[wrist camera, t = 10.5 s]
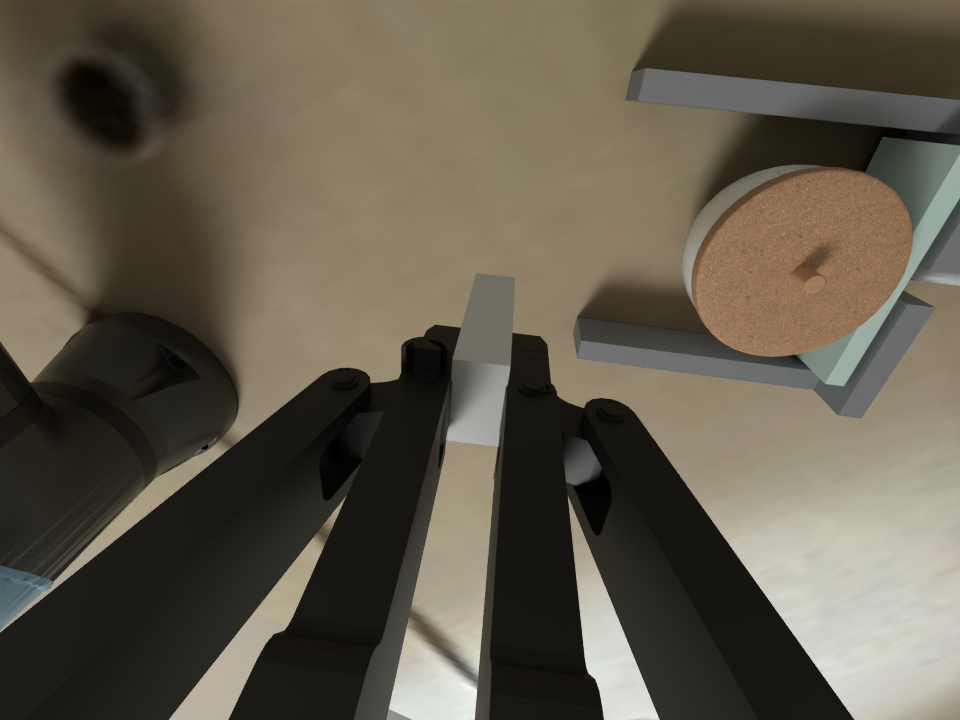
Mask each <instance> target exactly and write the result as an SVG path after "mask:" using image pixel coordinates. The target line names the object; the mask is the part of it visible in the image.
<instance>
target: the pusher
mask: <svg viewBox="0 0 960 720" xmlns="http://www.w3.org/2000/svg"><path fill="white" fill-rule="evenodd" d="M865 173H867V174H869V175H872V176H874V177H876V178H879V179H881V180H882V181H883V182H885V183H886V184H888V185H889V186H891V187H892V188H893V189H894V190H895V191H896V193H897V194H898V195H899V196H900V197H901V198H902V200H903V202H904V204H905V205H906V207H907V209H908V211H909V215H910V219H911V223H912V232H913V243H912V248H911V255H910V258H909V261H908V265H907V268H906V271H905V273H904V275H903V277H902V278H901V280H900V282H899V284H898V286H897V287H896V289H895V290H894V292H893V293H892V295H891V296H890V298H889V299H888V300H887V301H886V302H885V304H884V305H883V306H882V307H881V308H880V309H879V310H878V311H877V312H876V313H875V314H874V315H873V316H872V317H871V318H869V319H868V320H867V321H866V322H865V323H864V324H863V325H861V326H860V327H858V328H857V329H855V330H854V331H852V332H851V333H849V334H848V335H846V336H844V337H842V338H840V339H839V340H837V341H835V342H833V343H830V344H828V345H826V346H823V347H821V348H818V349H815V350H811V351H808V352H805V353H800V354H795V355H796V356H797V357H798V358H799V359H800V360H801V361H802V362H804V363H805V364H806V365H807V366H808V367H809V368H810V369H811V370H812V371H813V372H814V373H815V374H816V375H817V376H818V377H819V378H820V379H821V380H822V381H823V382H824V383H825V384H830V385H838V386H844V385H845V384H846V382H847V381H848V379H849V377H850V376H851V374H852V372H853V371H854V369H855V368H856V366H857V364H858V363H859V361H860V359H861V358H862V356H863V355H864V353H865V351H866V350H867V348H868V346H869V345H870V343H871V342H872V340H873V338H874V337H875V335H876V333H877V332H878V330H879V329H880V327H881V325H882V324H883V322H884V320H885V319H886V317H887V316H888V314H889V312H890V311H891V309H892V307H893V306H894V304H895V303H896V301H897V299H898V298H899V296H900V294H901V293H902V291H903V290H904V288H905V286H906V285H907V283H908V281H909V280H917V281H925V282H933V283H941V284H950V285H958V286H960V272H959V273H958V274H953V273H944V272H936V271H929V270H927V269H924V268H922V267H920V266H918V265H919V264H920V262H921V260H922V259H923V257H924V255H925V254H926V252H927V251H928V249H929V247H930V246H931V244H932V242H933V241H934V239H935V238H936V236H937V234H938V233H939V231H940V229H941V228H942V226H943V225H944V223H945V221H946V220H947V218H948V216H949V215H950V213H951V212H952V210H953V208H954V207H955V205H956V203H957V202H958V200H959V199H960V146H959V145H950V144H941V143H932V142H924V141H915V140H906V139H897V138H888V137H882V139H881V141H880V143H879V145H878V147H877V149H876V151H875V153H874V155H873V157H872V159H871V161H870V163H869V165H868V167H867V169H866V171H865Z"/></svg>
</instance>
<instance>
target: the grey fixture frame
mask: <svg viewBox="0 0 960 720" xmlns="http://www.w3.org/2000/svg"><path fill="white" fill-rule="evenodd" d="M626 100H629V101H638V102H648V103H657V104H666V105H676V106H685V107H695V108H704V109H714V110H723V111H733V112H742V113H752V114H761V115H771V116H780V117H790V118H799V119H809V120H818V121H828V122H837V123H847V124H856V125H866V126H875V127H885V128H894V129H903V130H907V131H906V133H905V135H904V137H903V139H906V140H915V141H924V142H932V143H941V144H950V145H959V146H960V100H954V99H944V98H934V97H924V96H915V95H905V94H895V93H885V92H875V91H866V90H856V89H846V88H836V87H826V86H817V85H807V84H797V83H787V82H777V81H768V80H758V79H748V78H738V77H728V76H719V75H709V74H699V73H689V72H679V71H670V70H660V69H650V68H644V69H640V70H637V71H633V72H632V73H631V78H630V82H629V87H628V91H627V96H626ZM918 266H920V267H922V268H924V269H927V270H929V271H936V272H944V273H953V274H958V273H959V272H960V199H959V200H958V202H957V203H956V205H955V207H954V208H953V210H952V212H951V213H950V215H949V216H948V218H947V220H946V221H945V223H944V225H943V226H942V228H941V229H940V231H939V233H938V234H937V236H936V238H935V239H934V241H933V242H932V244H931V246H930V247H929V249H928V251H927V252H926V254H925V255H924V257H923V259H922V260H921V262H920V264H919V265H918ZM934 309H935V307H933V306H931V305H929V304H928V303H926V302H924V301H922V300H920V299H918V298H916V297H914V296H912V295H910V294H909V293H907V292H905V291H902V293H901V294H900V296H899V298H898V299H897V301H896V303H895V304H894V306H893V307H892V309H891V311H890V312H889V314H888V316H887V317H886V319H885V320H884V322H883V324H882V325H881V327H880V329H879V330H878V332H877V333H876V335H875V337H874V338H873V340H872V342H871V343H870V345H869V346H868V348H867V350H866V351H865V353H864V355H863V356H862V358H861V359H860V361H859V363H858V364H857V366H856V368H855V369H854V371H853V372H852V374H851V376H850V377H849V379H848V381H847V382H846V384H845V385H844V386H838V385H830V384H825V383H824V382H823V381H822V380H821V379H820V378H819V377H818V376H817V375H816V374H815V373H814V372H813V371H812V370H811V369H810V368H809V367H808V366H807V365H806V364H805V363H804V362H802V361H801V360H800V359H799V358H798V357H797V356H796V355H795V354H794V355H789V356H775V357H770V356H757V355H752V354H747V353H743V352H741V351H738V350H735V349H733V348H731V347H729V346H727V345H726V344H724V343H722V342H721V341H720V340H718V339H717V338H716V337H715V336H714V335H712V334H704V333H696V332H688V331H680V330H673V329H665V328H657V327H649V326H642V325H634V324H626V323H618V322H610V321H603V320H595V319H587V318H579V317H577V320H576V324H575V329H574V333H573V335H574V341H575V348H576V354H577V359H585V360H592V361H600V362H607V363H615V364H622V365H630V366H637V367H645V368H652V369H660V370H668V371H675V372H683V373H690V374H698V375H705V376H713V377H720V378H728V379H735V380H743V381H751V382H758V383H766V384H773V385H781V386H788V387H796V388H803V389H811V390H814V391H815V392H816V393H817V394H818V395H819V396H820V397H821V398H822V399H823V400H824V401H825V402H826V403H827V404H828V405H829V406H830V408H831V409H832V410H833V411H834V412H835V413H836V414H837V415H839V416H847V417H854V418H862V417H863V415H864V414H865V412H866V411H867V409H868V408H869V406H870V405H871V403H872V402H873V400H874V399H875V397H876V396H877V394H878V393H879V391H880V390H881V388H882V387H883V385H884V384H885V382H886V381H887V379H888V378H889V376H890V375H891V373H892V372H893V370H894V369H895V367H896V366H897V364H898V363H899V361H900V360H901V358H902V357H903V355H904V354H905V352H906V351H907V349H908V348H909V346H910V345H911V343H912V342H913V340H914V339H915V337H916V336H917V334H918V333H919V331H920V330H921V328H922V327H923V325H924V324H925V322H926V321H927V319H928V318H929V316H930V315H931V313H932V312H933V310H934Z"/></svg>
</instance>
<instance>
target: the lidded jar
mask: <svg viewBox="0 0 960 720" xmlns="http://www.w3.org/2000/svg"><path fill="white" fill-rule="evenodd" d="M912 243H913V232H912V223H911V219H910V215H909V211H908V209H907V207H906V205H905V204H904V202H903V200H902V198H901V197H900V196H899V195H898V194H897V193H896V191H895V190H894V189H893V188H892V187H891V186H889V185H888V184H886V183H885V182H883V181H882V180H881V179H879V178H876V177H874V176H872V175H869V174H867V173H864V172H860V171H856V170H851V169H846V168H841V167H825V166H818V165H787V166H778V167H773V168H769V169H765V170H761V171H758V172H754V173H752V174H750V175H747V176H745V177H742V178H740V179H739V180H737V181H735V182H733V183H732V184H730V185H728V186H727V187H726V188H724V189H723V190H722V191H720V192H719V193H718V194H716V195H715V196H714V197H713V198H712V199H711V200H710V201H709V202H708V203H707V204H706V205H705V206H704V208H703V209H702V210H701V211H700V213H699V214H698V215H697V217H696V219H695V220H694V222H693V224H692V225H691V227H690V229H689V232H688V234H687V237H686V239H685V243H684V247H683V251H682V273H683V280H684V283H685V287H686V290H687V293H688V295H689V297H690V299H691V301H692V303H693V305H694V307H695V308H696V310H697V312H698V314H699V316H700V318H701V320H702V322H703V323H704V324H705V326H706V327H707V328H708V330H709V331H710V332H711V333H712V334H713V335H714V336H715V337H716V338H717V339H718V340H720V341H721V342H722V343H724V344H726V345H727V346H729V347H731V348H733V349H735V350H738V351H741V352H743V353H747V354H752V355H757V356H770V357H775V356H789V355H794V354H800V353H805V352H808V351H811V350H815V349H818V348H821V347H823V346H826V345H828V344H830V343H833V342H835V341H837V340H839V339H840V338H842V337H844V336H846V335H848V334H849V333H851V332H852V331H854V330H855V329H857V328H858V327H860V326H861V325H863V324H864V323H865V322H866V321H867V320H868V319H869V318H871V317H872V316H873V315H874V314H875V313H876V312H877V311H878V310H879V309H880V308H881V307H882V306H883V305H884V304H885V302H886V301H887V300H888V299H889V298H890V296H891V295H892V293H893V292H894V290H895V289H896V287H897V286H898V284H899V282H900V280H901V278H902V277H903V275H904V273H905V271H906V268H907V265H908V261H909V258H910V255H911V248H912Z"/></svg>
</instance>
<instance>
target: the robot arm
mask: <svg viewBox="0 0 960 720" xmlns="http://www.w3.org/2000/svg"><path fill="white" fill-rule="evenodd" d="M514 290H515V278H512V277H504V276H495V275H487V274H478V273H476V276H475V280H474V283H473V287H472V290H471V294H470V298H469V301H468V305H467V309H466V312H465V316H464V319H463V323H462V327H461V328H458V327H450V326H442V325H434V326H433V327H431V328H430V329H428V330H427V331H426V333H425V335H424V337H417V338H412V339H410V340H408V341H405V342H404V344H403V345H402V346H401V374H400V377H399V379H397V380H393V381H389V382H380V383H370V377H369V376H368V375H367V373H366V372H363V371H361V370H359V369H353V368H338V369H335V370H331V371H328V372H327V373H325V374H323V375H321V376H320V377H319V378H318V379H316V380H315V381H314V382H313V383H311V384H310V385H309V386H308V387H306V388H305V389H304V390H303V391H301V392H300V393H299V394H298V395H296V396H295V397H294V398H293V399H291V400H290V401H289V402H288V403H286V404H285V405H284V406H283V407H281V408H280V409H279V410H278V411H276V412H275V413H274V414H273V415H271V416H270V417H269V418H268V419H266V420H265V421H264V422H263V423H261V424H260V425H259V426H258V427H256V428H255V429H254V430H253V431H251V432H250V433H249V434H248V435H246V436H245V437H244V438H243V439H241V440H240V441H239V442H238V443H236V444H235V445H234V446H233V447H231V448H230V449H229V450H228V451H226V452H225V453H224V454H223V455H221V456H220V457H219V458H218V459H216V460H215V461H214V462H213V463H211V464H210V465H209V466H208V467H206V468H205V469H204V470H203V471H201V472H200V473H199V474H198V475H196V476H195V477H194V478H193V479H191V480H190V481H189V482H188V483H186V484H185V485H184V486H183V487H181V488H180V489H179V490H178V491H176V492H175V493H174V494H173V495H171V496H170V497H169V498H168V499H166V500H165V501H164V502H163V503H161V504H160V505H159V506H158V507H156V508H155V509H154V510H153V511H151V512H150V513H149V514H148V515H146V516H145V517H144V518H143V519H142V520H140V521H139V522H138V523H137V524H135V525H134V526H133V527H132V528H130V529H129V530H128V531H127V532H125V533H124V534H123V535H122V536H120V537H119V538H118V539H117V540H115V541H114V542H113V543H112V544H110V545H109V546H108V547H107V548H105V549H104V550H103V551H102V552H100V553H99V554H98V555H97V556H95V557H94V558H93V559H92V560H90V561H89V562H88V563H87V564H85V565H84V566H83V567H82V568H80V569H79V570H78V571H77V572H75V573H74V574H73V575H72V576H70V577H69V578H68V579H67V580H66V581H64V582H63V583H62V584H60V585H59V586H58V587H57V588H55V589H54V590H53V591H52V592H50V593H49V594H48V595H47V596H45V597H44V598H43V599H42V600H40V601H39V602H38V603H37V604H35V605H34V606H33V607H32V608H30V609H29V610H28V611H27V612H25V613H24V614H23V615H22V616H20V617H19V618H18V619H17V620H15V621H14V622H13V623H12V624H10V625H9V626H8V627H7V628H5V629H4V630H3V631H2V632H0V720H169V718H170V717H171V716H172V715H173V713H174V712H175V711H176V709H177V708H178V707H179V706H180V705H181V703H182V702H183V701H184V699H185V698H186V697H187V696H188V694H189V693H190V692H191V691H192V689H193V688H194V687H195V686H196V684H197V683H198V682H199V681H200V679H201V678H202V677H203V675H204V674H205V673H206V672H207V671H208V669H209V668H210V667H211V666H212V664H213V663H214V662H215V660H216V659H217V658H218V657H219V655H220V654H221V653H222V652H223V650H224V649H225V648H226V647H227V645H228V644H229V643H230V642H231V640H232V639H233V638H234V636H235V635H236V634H237V633H238V631H239V630H240V629H241V628H242V626H243V625H244V624H245V623H246V621H247V620H248V619H249V618H250V616H251V615H252V614H253V613H254V611H255V610H256V609H257V608H258V606H259V605H260V604H261V602H262V601H263V600H264V599H265V597H266V596H267V595H268V594H269V592H270V591H271V590H272V589H273V587H274V586H275V585H276V584H277V582H278V581H279V580H280V579H281V577H282V576H283V575H284V573H285V572H286V571H287V570H288V568H289V567H290V566H291V565H292V563H293V562H294V561H295V560H296V558H297V557H298V556H299V555H300V553H301V552H302V551H303V550H304V548H305V547H306V546H307V545H308V543H309V542H310V541H311V539H312V538H313V537H314V536H315V534H316V533H317V532H318V531H319V529H320V528H321V527H322V526H323V524H324V523H325V522H326V521H327V519H328V518H329V517H330V516H331V514H332V513H333V512H334V510H335V509H336V508H337V507H338V505H339V504H340V503H341V502H342V500H343V499H344V498H345V497H346V498H345V501H344V503H343V505H342V507H341V510H340V512H339V514H338V517H337V519H336V521H335V523H334V526H333V528H332V530H331V532H330V535H329V537H328V539H327V541H326V544H325V546H324V548H323V550H322V553H321V555H320V557H319V559H318V562H317V564H316V566H315V568H314V571H313V573H312V575H311V577H310V580H309V582H308V584H307V586H306V589H305V591H304V593H303V595H302V598H301V600H300V602H299V604H298V607H297V609H296V611H295V613H294V616H293V618H292V620H291V622H290V624H289V625H288V627H287V628H286V629H285V630H284V631H282V632H279V633H276V634H274V635H273V636H272V638H270V639H269V641H268V642H267V643H266V644H265V646H264V648H263V650H262V652H261V653H260V655H259V657H258V659H257V661H256V663H255V665H254V667H253V669H252V671H251V673H250V675H249V678H248V680H247V682H246V684H245V686H244V688H243V690H242V692H241V695H240V697H239V699H238V701H237V703H236V705H235V707H234V709H233V711H232V714H231V716H230V718H229V720H386V718H387V714H388V709H389V705H390V700H391V696H392V691H393V686H394V682H395V677H396V673H397V668H398V664H399V659H400V655H401V650H402V646H403V641H404V637H405V632H406V627H407V623H408V618H409V614H410V609H411V605H412V600H413V596H414V591H415V587H416V582H417V577H418V573H419V568H420V564H421V559H422V555H423V550H424V546H425V541H426V537H427V532H428V527H429V523H430V518H431V514H432V509H433V505H434V500H435V496H436V491H437V487H438V482H439V478H440V473H441V468H442V464H443V459H444V455H445V445H446V436H447V440H449V441H456V442H464V443H472V444H480V445H487V446H495V447H498V451H497V458H496V464H495V471H494V478H493V479H495V481H494V493H493V505H492V518H491V530H490V542H489V554H488V566H487V578H486V591H485V603H484V615H483V627H482V639H481V652H480V664H479V676H478V688H477V700H476V712H475V720H604V718H603V710H602V704H601V698H600V693H599V689H598V686H597V683H596V680H595V679H594V678H593V677H592V676H591V675H589V674H588V671H587V668H586V663H585V657H584V647H583V638H582V628H581V619H580V609H579V600H578V590H577V581H576V571H575V562H574V552H573V543H572V533H571V523H570V514H569V504H568V497H569V499H570V501H571V504H572V506H573V509H574V511H575V514H576V516H577V519H578V521H579V523H580V526H581V528H582V531H583V533H584V536H585V538H586V541H587V543H588V545H589V548H590V550H591V553H592V555H593V558H594V560H595V563H596V565H597V567H598V570H599V572H600V575H601V577H602V580H603V582H604V585H605V587H606V589H607V592H608V594H609V597H610V599H611V602H612V604H613V607H614V609H615V611H616V614H617V616H618V619H619V621H620V624H621V626H622V629H623V631H624V633H625V636H626V638H627V641H628V643H629V646H630V648H631V651H632V653H633V655H634V658H635V660H636V663H637V665H638V668H639V670H640V673H641V675H642V677H643V680H644V682H645V685H646V687H647V690H648V692H649V695H650V697H651V699H652V702H653V704H654V707H655V709H656V712H657V714H658V717H659V719H660V720H854V719H853V717H852V716H851V714H850V713H849V712H848V710H847V709H846V707H845V706H844V705H843V703H842V702H841V700H840V699H839V698H838V696H837V695H836V693H835V692H834V691H833V689H832V688H831V687H830V685H829V684H828V682H827V681H826V680H825V678H824V677H823V675H822V674H821V673H820V671H819V670H818V668H817V667H816V666H815V664H814V663H813V661H812V660H811V659H810V657H809V656H808V654H807V653H806V652H805V650H804V649H803V647H802V646H801V645H800V643H799V642H798V640H797V639H796V638H795V636H794V635H793V633H792V632H791V631H790V629H789V628H788V626H787V625H786V624H785V622H784V621H783V619H782V618H781V617H780V615H779V614H778V612H777V611H776V610H775V608H774V607H773V605H772V604H771V603H770V601H769V600H768V598H767V597H766V596H765V594H764V593H763V591H762V590H761V589H760V587H759V586H758V584H757V583H756V582H755V580H754V579H753V577H752V576H751V575H750V573H749V572H748V570H747V569H746V568H745V566H744V565H743V564H742V562H741V561H740V559H739V558H738V557H737V555H736V554H735V552H734V551H733V550H732V548H731V547H730V545H729V544H728V543H727V541H726V540H725V538H724V537H723V536H722V534H721V533H720V531H719V530H718V529H717V527H716V526H715V524H714V523H713V522H712V520H711V519H710V517H709V516H708V515H707V513H706V512H705V510H704V509H703V508H702V506H701V505H700V503H699V502H698V501H697V499H696V498H695V496H694V495H693V494H692V492H691V491H690V489H689V488H688V487H687V485H686V484H685V482H684V481H683V480H682V478H681V477H680V475H679V474H678V473H677V471H676V470H675V468H674V467H673V466H672V464H671V463H670V461H669V460H668V459H667V457H666V456H665V454H664V453H663V452H662V450H661V449H660V448H659V446H658V445H657V443H656V442H655V441H654V439H653V438H652V436H651V435H650V434H649V432H648V431H647V429H646V428H645V427H644V425H643V424H642V422H641V421H640V420H639V418H638V417H637V415H636V414H635V413H634V412H633V411H632V410H631V409H630V408H629V407H628V406H626V405H624V404H622V403H621V402H618V401H616V400H612V399H604V398H598V399H592V400H590V401H589V402H587V403H586V405H585V407H584V408H581V407H578V406H575V405H573V404H570V403H568V402H566V401H564V400H562V399H560V398H559V397H558V396H557V391H556V389H555V387H554V385H552V384H551V379H550V368H549V358H548V347H547V344H546V342H545V341H544V340H543V339H542V338H541V337H540V336H533V335H525V334H517V333H512V328H513V309H514ZM236 414H237V398H236V393H235V389H234V387H233V384H232V382H231V380H230V378H229V376H228V374H227V372H226V371H225V369H224V368H223V366H222V365H221V363H220V362H219V361H218V360H217V358H216V357H215V356H214V355H213V354H212V353H211V352H210V351H209V350H208V349H207V348H206V347H205V346H204V345H203V344H202V343H200V342H199V341H198V340H197V339H195V338H194V337H193V336H191V335H190V334H188V333H187V332H185V331H183V330H182V329H180V328H178V327H176V326H175V325H172V324H170V323H168V322H166V321H163V320H161V319H158V318H155V317H152V316H148V315H143V314H137V313H117V314H112V315H108V316H105V317H103V318H101V319H99V320H97V321H95V322H93V323H91V324H89V325H87V326H85V327H83V328H82V329H80V330H79V331H77V332H76V333H75V334H74V335H73V336H72V337H71V338H70V339H69V340H68V342H67V343H66V345H65V346H64V347H63V349H62V350H61V351H60V352H59V353H58V354H57V355H56V356H55V357H54V358H53V359H52V360H51V362H50V363H49V364H48V365H47V366H46V367H45V368H44V369H43V370H42V371H41V373H40V374H39V375H38V376H37V377H36V378H35V379H34V380H33V381H32V382H31V383H30V382H29V381H28V380H27V378H26V377H25V376H24V374H23V373H22V371H21V370H20V369H19V367H18V366H17V364H16V363H15V362H14V360H13V359H12V357H11V356H10V354H9V353H8V352H7V350H6V349H5V347H4V346H3V345H2V343H1V342H0V630H1V629H2V628H3V627H4V626H6V625H7V624H8V623H9V622H10V621H11V620H12V619H13V618H14V617H15V616H16V615H18V613H20V612H21V611H22V610H23V609H24V608H25V607H26V606H28V605H29V604H30V603H31V602H32V601H33V600H34V599H36V598H37V597H38V596H39V595H40V594H41V593H42V592H45V591H47V590H48V589H50V588H51V586H52V585H53V581H55V579H57V577H59V576H60V575H61V574H62V572H63V571H64V570H65V569H66V568H67V567H68V566H69V565H70V564H71V563H72V562H73V561H74V560H75V559H76V558H77V557H78V556H79V555H80V554H81V553H82V552H83V551H84V550H85V549H86V548H87V547H88V546H89V545H90V544H91V543H92V542H93V541H94V540H95V539H96V538H97V537H98V536H99V535H100V534H101V533H102V532H103V531H104V530H105V529H106V528H107V526H108V525H109V524H110V523H111V522H112V521H113V520H114V519H115V518H116V517H117V516H118V515H119V514H120V513H121V512H122V511H123V510H124V509H125V508H126V507H127V506H128V505H129V504H130V503H131V502H132V501H133V500H134V499H135V498H136V497H137V496H138V495H139V494H140V493H141V492H142V491H143V490H144V489H145V488H146V487H147V486H148V485H149V484H150V483H151V482H152V481H153V480H154V479H155V478H156V477H158V476H160V475H162V474H164V473H166V472H168V471H170V470H171V469H173V468H175V467H177V466H179V465H181V464H182V463H184V462H186V461H187V460H189V459H190V458H192V457H194V456H197V455H199V454H201V453H203V452H205V451H207V450H209V449H210V448H211V447H213V446H214V445H215V444H216V443H217V442H218V441H219V440H220V439H221V438H222V437H223V436H224V435H225V434H226V433H227V431H228V430H229V429H230V428H231V426H232V425H233V423H234V421H235V418H236ZM567 494H568V495H567ZM346 495H347V496H346Z"/></svg>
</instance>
